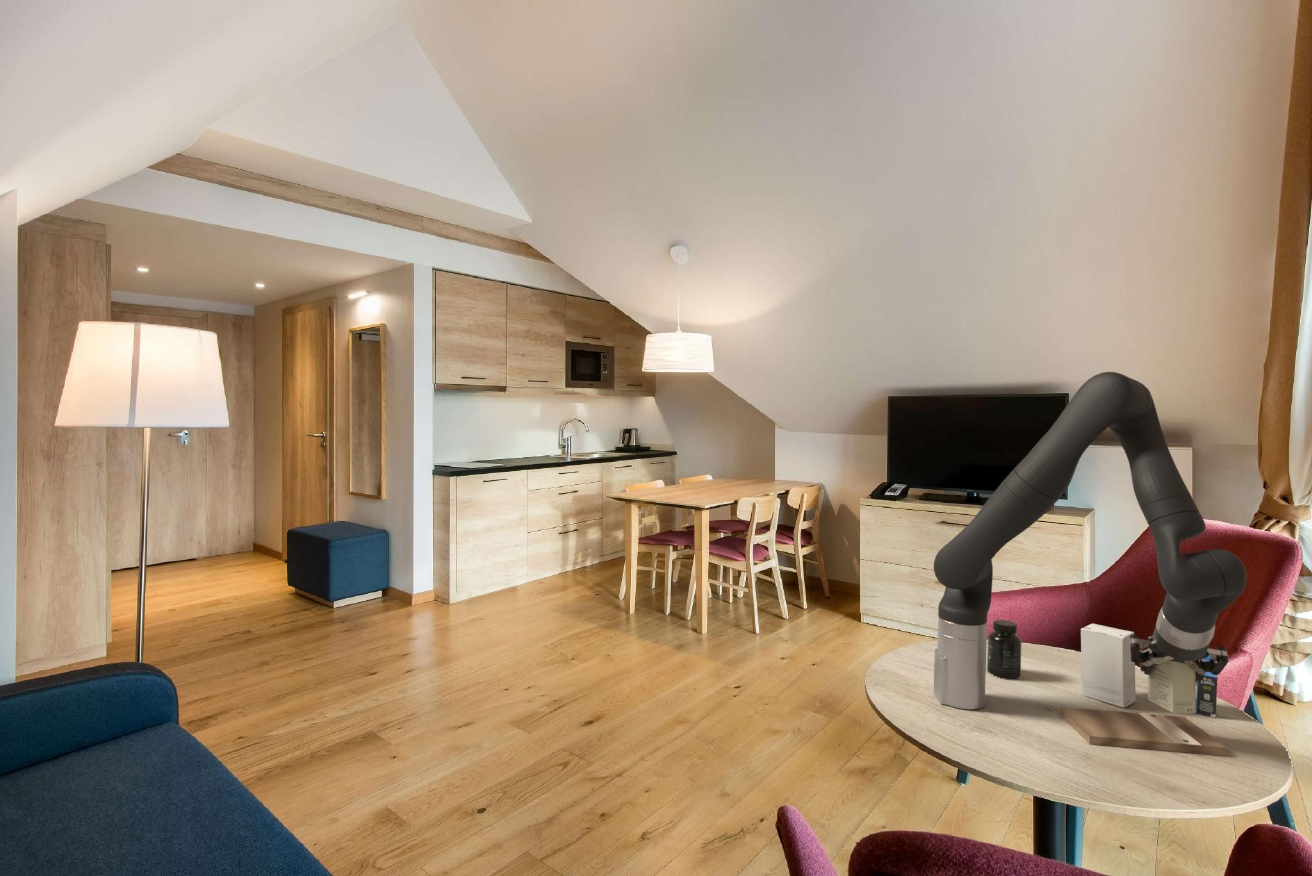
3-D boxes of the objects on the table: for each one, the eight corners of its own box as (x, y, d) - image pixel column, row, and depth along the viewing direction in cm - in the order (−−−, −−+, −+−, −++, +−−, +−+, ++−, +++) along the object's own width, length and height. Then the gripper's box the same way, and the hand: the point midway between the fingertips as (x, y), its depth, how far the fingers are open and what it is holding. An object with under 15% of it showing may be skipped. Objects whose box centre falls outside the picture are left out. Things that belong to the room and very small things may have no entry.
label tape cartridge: (1159, 705, 134) (1161, 646, 134) (1160, 699, 137) (1162, 641, 137) (1216, 718, 129) (1218, 657, 128) (1215, 711, 132) (1217, 651, 131)
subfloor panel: (1089, 744, 118) (1089, 735, 118) (1060, 714, 130) (1060, 706, 130) (1227, 756, 114) (1227, 746, 114) (1184, 724, 126) (1184, 715, 126)
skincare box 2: (1196, 714, 118) (1198, 647, 117) (1172, 714, 118) (1174, 647, 117) (1168, 699, 124) (1170, 635, 124) (1145, 699, 124) (1147, 635, 124)
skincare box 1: (1135, 702, 136) (1138, 632, 135) (1123, 709, 132) (1125, 637, 132) (1091, 688, 143) (1093, 621, 142) (1078, 694, 139) (1080, 626, 139)
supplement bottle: (983, 667, 154) (984, 617, 154) (1014, 669, 153) (1016, 619, 152) (992, 678, 148) (993, 626, 147) (1025, 681, 146) (1026, 628, 146)
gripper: (1235, 615, 110) (1215, 662, 121) (1130, 603, 117) (1121, 648, 128) (1243, 656, 106) (1222, 701, 116) (1134, 641, 113) (1123, 684, 123)
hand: (1169, 673), depth 122 cm, fingers closed on skincare box 2, 6 cm apart
